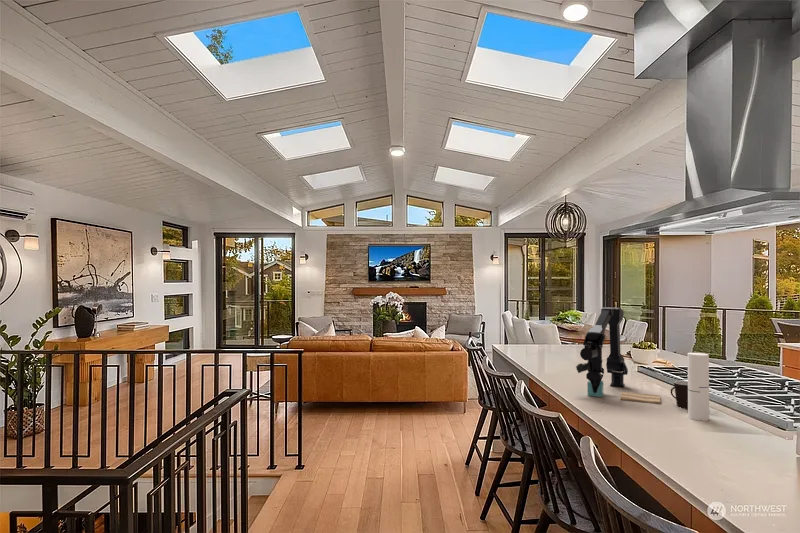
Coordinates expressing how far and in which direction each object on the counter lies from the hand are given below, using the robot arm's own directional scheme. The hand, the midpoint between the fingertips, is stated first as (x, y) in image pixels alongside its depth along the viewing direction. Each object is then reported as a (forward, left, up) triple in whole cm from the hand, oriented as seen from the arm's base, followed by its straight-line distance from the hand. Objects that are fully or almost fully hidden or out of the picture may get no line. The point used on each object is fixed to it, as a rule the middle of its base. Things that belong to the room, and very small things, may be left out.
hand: (595, 391), depth 240 cm
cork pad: (-1, +19, -2) cm, 19 cm away
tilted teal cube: (0, 0, -2) cm, 2 cm away
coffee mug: (+7, +35, -2) cm, 36 cm away
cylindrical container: (+24, +40, -2) cm, 47 cm away
